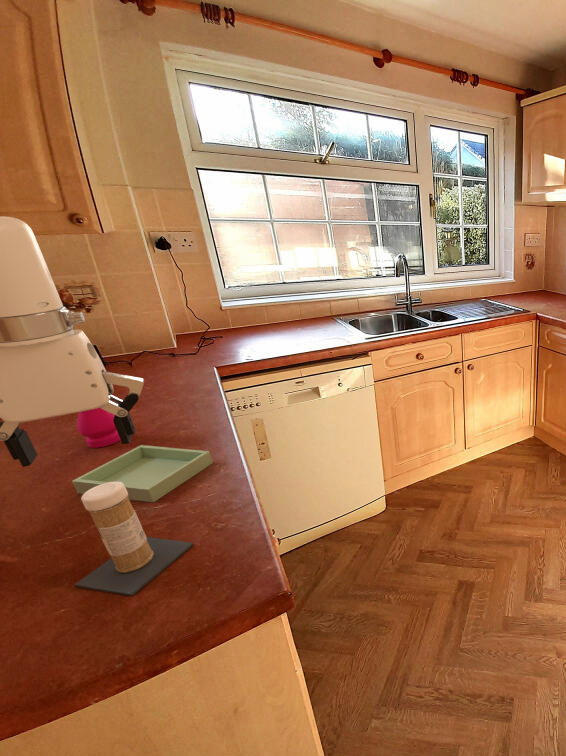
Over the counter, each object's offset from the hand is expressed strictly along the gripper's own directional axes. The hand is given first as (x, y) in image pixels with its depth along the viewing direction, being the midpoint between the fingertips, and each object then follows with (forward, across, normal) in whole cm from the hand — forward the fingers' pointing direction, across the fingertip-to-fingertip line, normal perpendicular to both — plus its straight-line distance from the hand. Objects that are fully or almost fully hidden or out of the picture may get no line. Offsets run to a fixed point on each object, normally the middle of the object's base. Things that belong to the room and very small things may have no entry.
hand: (81, 450), depth 57 cm
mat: (+20, -1, 0) cm, 20 cm away
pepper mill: (+21, +10, -54) cm, 59 cm away
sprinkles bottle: (+20, 0, 0) cm, 20 cm away
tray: (+21, 0, -28) cm, 35 cm away
